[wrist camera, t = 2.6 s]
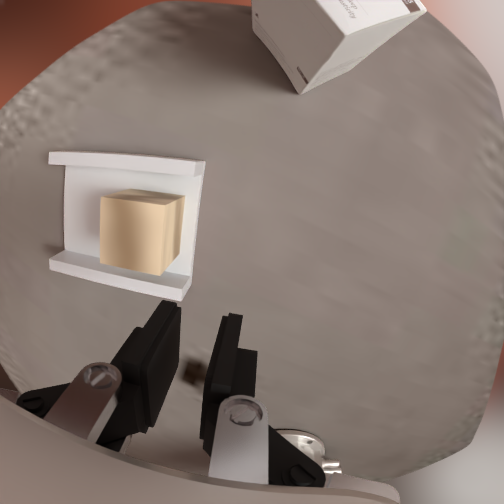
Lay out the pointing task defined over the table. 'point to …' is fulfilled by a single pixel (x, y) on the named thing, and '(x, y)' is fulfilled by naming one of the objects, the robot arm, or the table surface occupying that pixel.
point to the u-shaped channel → (115, 180)
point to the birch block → (141, 230)
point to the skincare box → (327, 33)
